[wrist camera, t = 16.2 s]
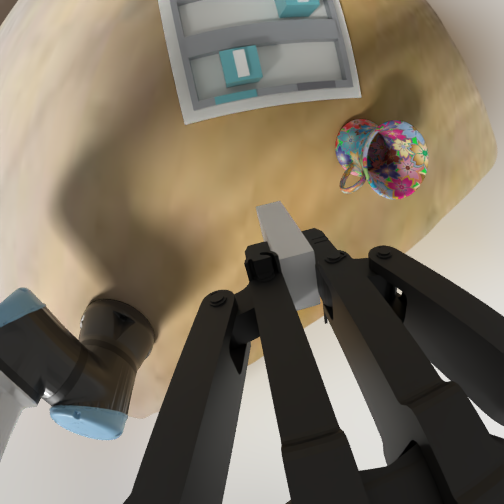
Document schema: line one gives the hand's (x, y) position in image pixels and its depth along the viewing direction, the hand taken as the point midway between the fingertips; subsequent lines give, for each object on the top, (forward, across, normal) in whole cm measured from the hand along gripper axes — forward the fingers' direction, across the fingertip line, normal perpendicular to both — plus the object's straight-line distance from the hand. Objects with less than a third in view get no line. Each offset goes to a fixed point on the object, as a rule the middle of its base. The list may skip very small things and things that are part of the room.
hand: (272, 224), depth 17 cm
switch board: (+22, +6, +17) cm, 28 cm away
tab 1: (+20, +2, +13) cm, 24 cm away
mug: (+22, +16, -1) cm, 27 cm away
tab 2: (+20, +11, +21) cm, 31 cm away
